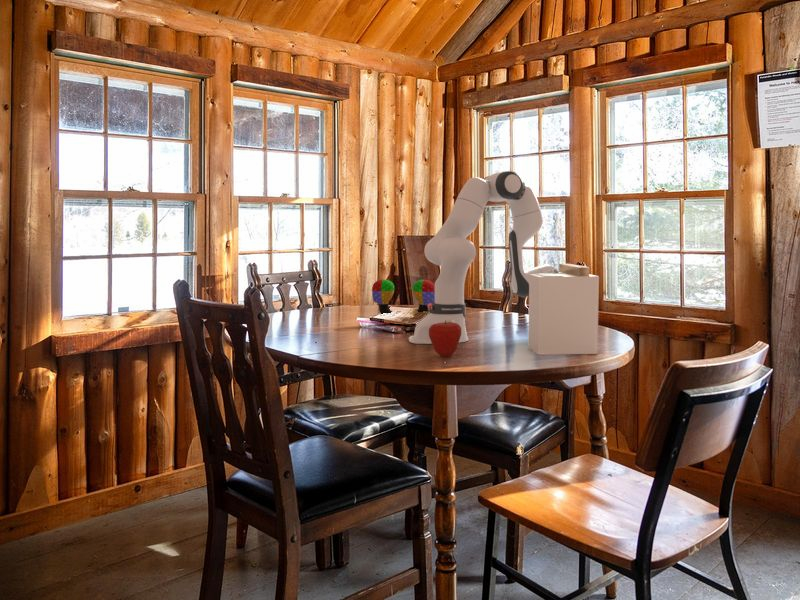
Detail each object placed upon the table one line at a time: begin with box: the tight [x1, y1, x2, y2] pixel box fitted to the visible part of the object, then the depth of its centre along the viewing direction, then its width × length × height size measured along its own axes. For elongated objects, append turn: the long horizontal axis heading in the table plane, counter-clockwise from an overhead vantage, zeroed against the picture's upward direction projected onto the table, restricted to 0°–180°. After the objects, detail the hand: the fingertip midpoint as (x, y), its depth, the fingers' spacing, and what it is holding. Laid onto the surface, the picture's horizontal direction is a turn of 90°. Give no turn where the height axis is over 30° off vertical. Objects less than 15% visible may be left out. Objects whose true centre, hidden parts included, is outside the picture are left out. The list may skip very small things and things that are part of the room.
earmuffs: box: [371, 278, 435, 315], centre depth 302 cm, size 28×9×20 cm, turn 78°
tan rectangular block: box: [558, 263, 591, 277], centre depth 238 cm, size 4×24×3 cm, turn 2°
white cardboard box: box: [528, 273, 600, 356], centre depth 235 cm, size 20×14×26 cm
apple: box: [429, 320, 461, 358], centre depth 228 cm, size 11×11×12 cm
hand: (567, 271), depth 246 cm, fingers open, 8 cm apart
